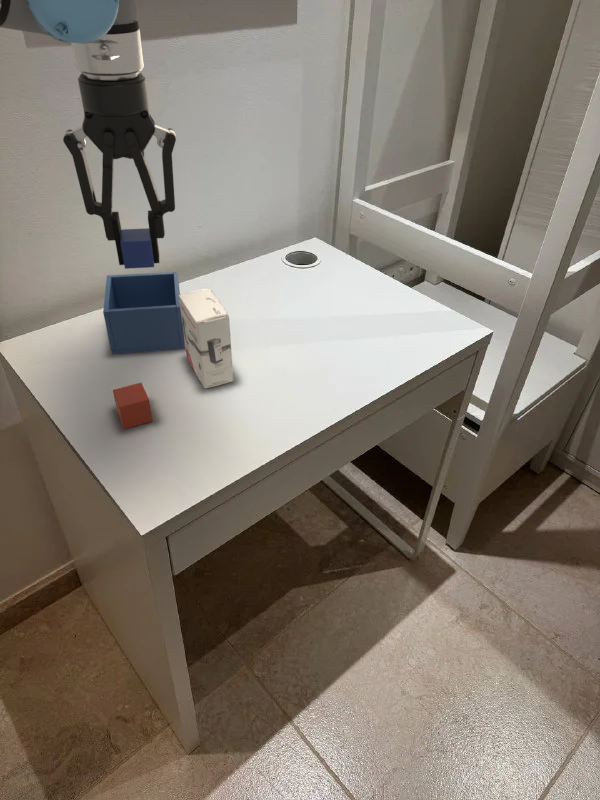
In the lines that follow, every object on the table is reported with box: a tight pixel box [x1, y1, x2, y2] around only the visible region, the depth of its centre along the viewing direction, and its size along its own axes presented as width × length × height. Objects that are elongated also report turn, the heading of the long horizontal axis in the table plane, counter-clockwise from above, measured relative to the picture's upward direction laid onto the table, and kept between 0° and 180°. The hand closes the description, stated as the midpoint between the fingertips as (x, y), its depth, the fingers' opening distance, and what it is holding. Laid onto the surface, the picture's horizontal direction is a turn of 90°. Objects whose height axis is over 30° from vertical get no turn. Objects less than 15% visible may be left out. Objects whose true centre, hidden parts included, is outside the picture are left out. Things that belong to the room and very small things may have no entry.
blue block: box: [120, 227, 155, 270], centre depth 80 cm, size 4×4×4 cm
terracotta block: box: [111, 382, 153, 430], centre depth 79 cm, size 4×4×4 cm
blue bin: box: [102, 271, 186, 355], centre depth 94 cm, size 11×11×8 cm
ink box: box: [179, 287, 234, 389], centre depth 85 cm, size 9×5×12 cm, turn 27°
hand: (139, 259), depth 81 cm, fingers closed on blue block, 4 cm apart
